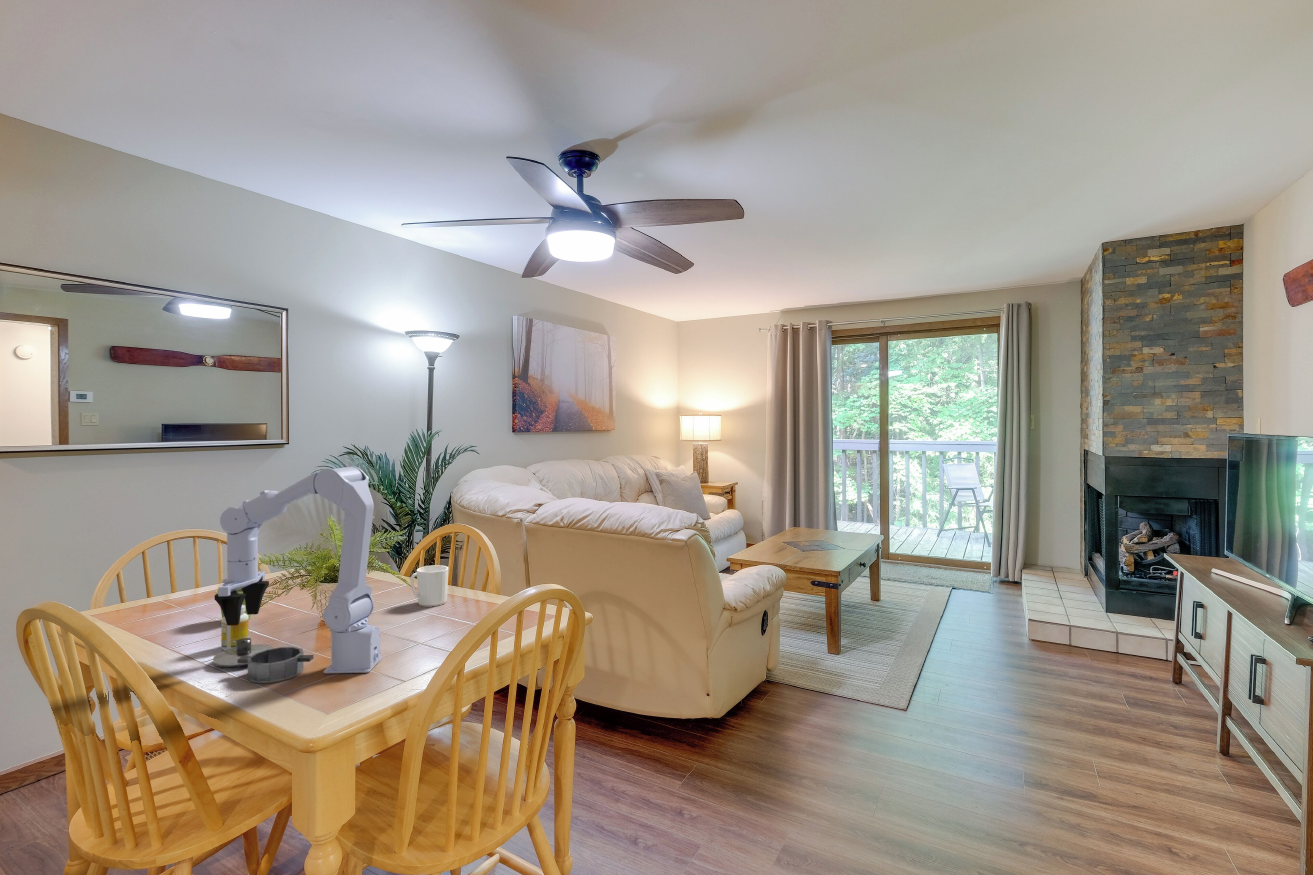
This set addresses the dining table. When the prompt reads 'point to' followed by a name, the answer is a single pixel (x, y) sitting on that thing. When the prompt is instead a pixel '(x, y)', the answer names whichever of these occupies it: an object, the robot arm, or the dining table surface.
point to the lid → (238, 653)
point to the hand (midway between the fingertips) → (243, 619)
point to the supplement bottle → (234, 631)
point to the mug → (431, 585)
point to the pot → (275, 664)
